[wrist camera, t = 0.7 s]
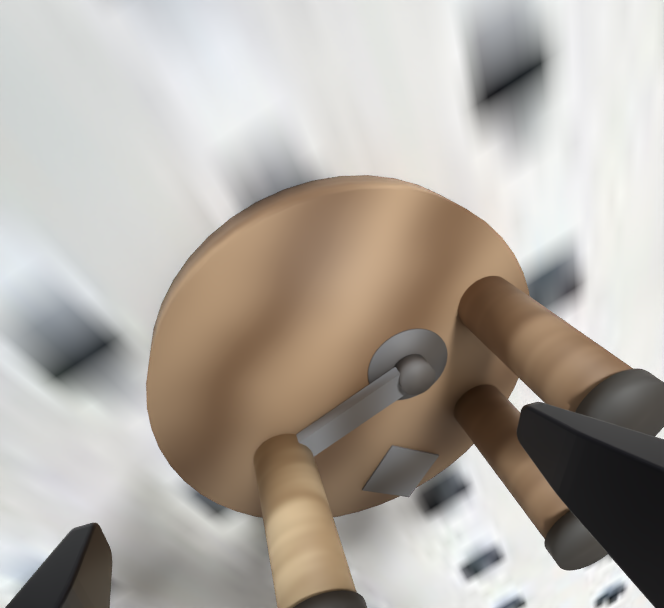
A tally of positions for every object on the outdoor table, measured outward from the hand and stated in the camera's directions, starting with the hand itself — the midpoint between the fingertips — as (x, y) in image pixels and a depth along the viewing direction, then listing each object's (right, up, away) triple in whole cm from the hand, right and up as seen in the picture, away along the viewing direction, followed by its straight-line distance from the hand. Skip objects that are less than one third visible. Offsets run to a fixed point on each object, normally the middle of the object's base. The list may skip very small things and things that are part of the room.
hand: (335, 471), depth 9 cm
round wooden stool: (+1, 0, +16) cm, 16 cm away
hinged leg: (0, -2, +14) cm, 14 cm away
